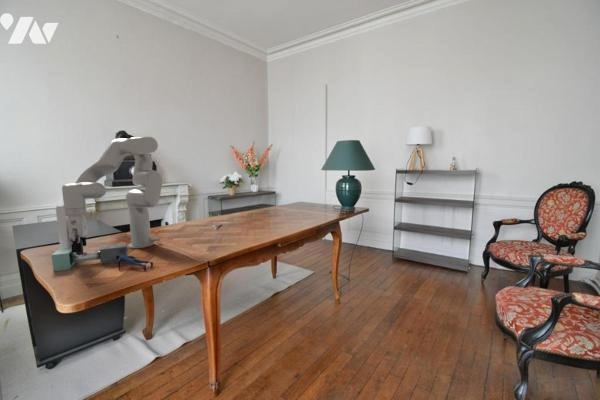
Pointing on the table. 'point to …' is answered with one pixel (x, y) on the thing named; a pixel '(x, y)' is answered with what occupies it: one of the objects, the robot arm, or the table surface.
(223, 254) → the table surface
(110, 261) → the sleeve
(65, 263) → the socket block
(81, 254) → the slip tube
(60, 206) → the grey cylinder
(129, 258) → the person figurine
